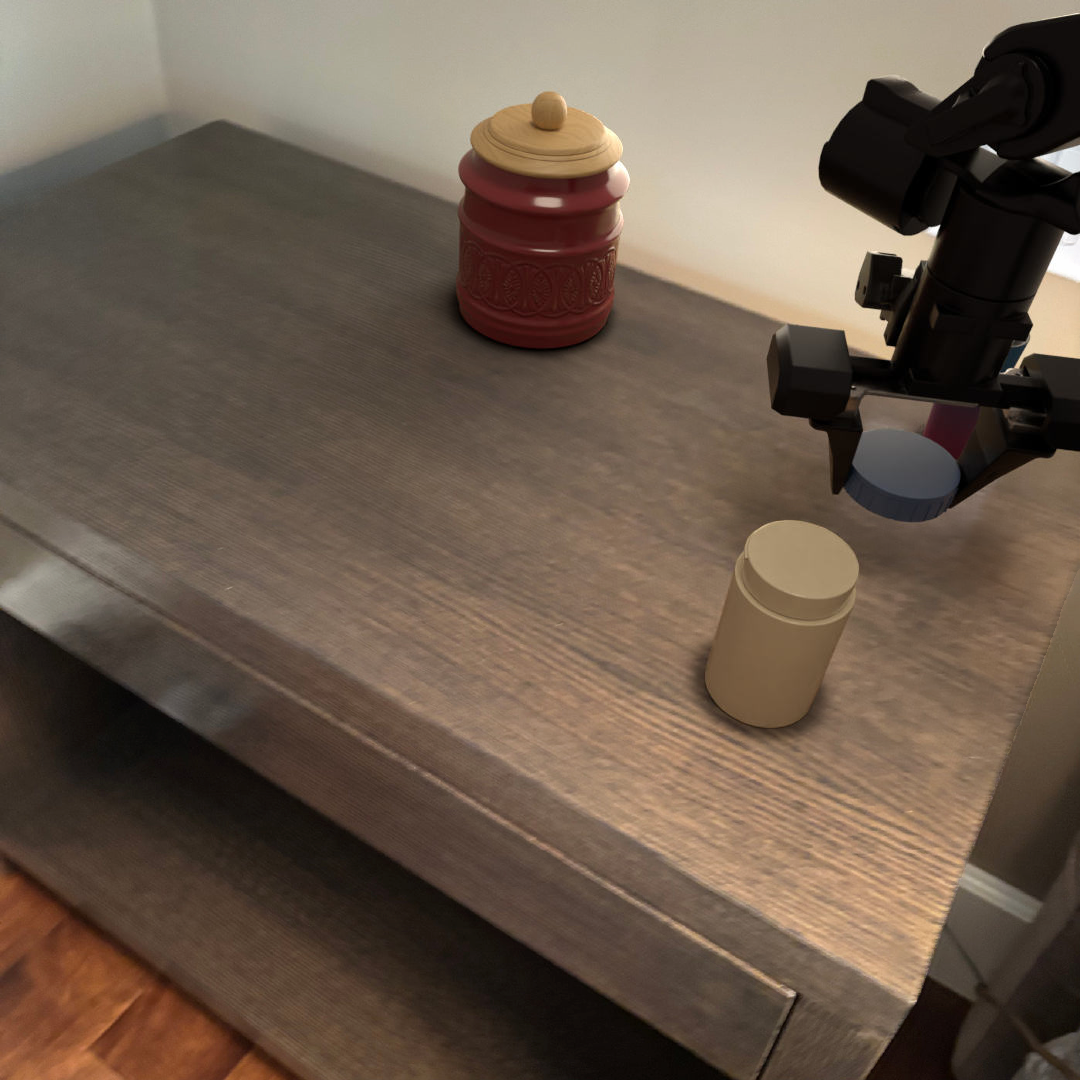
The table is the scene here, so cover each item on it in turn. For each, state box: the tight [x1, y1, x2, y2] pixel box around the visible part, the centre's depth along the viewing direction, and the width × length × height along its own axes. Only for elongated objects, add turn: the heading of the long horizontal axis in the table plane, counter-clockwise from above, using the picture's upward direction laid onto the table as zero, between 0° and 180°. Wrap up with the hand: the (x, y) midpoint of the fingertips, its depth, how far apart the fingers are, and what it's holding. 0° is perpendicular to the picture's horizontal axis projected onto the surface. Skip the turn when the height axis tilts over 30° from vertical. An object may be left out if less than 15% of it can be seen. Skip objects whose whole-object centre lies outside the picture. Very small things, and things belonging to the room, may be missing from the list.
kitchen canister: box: [455, 90, 631, 349], centre depth 79 cm, size 13×13×18 cm
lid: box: [843, 427, 961, 523], centre depth 63 cm, size 7×7×2 cm
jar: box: [704, 519, 860, 729], centre depth 55 cm, size 6×6×10 cm
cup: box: [922, 332, 1031, 460], centre depth 72 cm, size 4×4×10 cm
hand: (890, 497), depth 64 cm, fingers closed on lid, 7 cm apart
